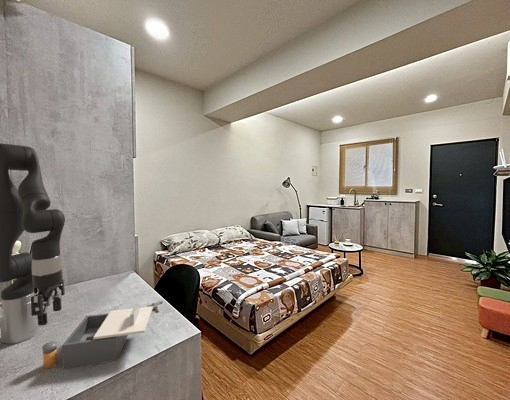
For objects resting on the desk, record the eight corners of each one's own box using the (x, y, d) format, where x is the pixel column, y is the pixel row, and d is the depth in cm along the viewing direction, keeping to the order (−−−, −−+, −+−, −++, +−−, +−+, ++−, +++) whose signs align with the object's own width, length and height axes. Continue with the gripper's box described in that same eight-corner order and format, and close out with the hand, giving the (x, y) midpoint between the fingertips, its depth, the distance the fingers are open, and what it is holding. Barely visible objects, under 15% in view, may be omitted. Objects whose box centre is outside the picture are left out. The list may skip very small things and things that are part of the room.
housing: (63, 368, 79) (61, 345, 78) (87, 334, 96) (86, 315, 96) (116, 360, 83) (115, 338, 82) (130, 329, 100) (129, 310, 100)
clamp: (133, 318, 106) (129, 308, 113) (134, 322, 106) (129, 312, 114) (168, 307, 115) (162, 299, 123) (168, 311, 115) (162, 303, 123)
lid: (93, 339, 81) (92, 325, 81) (110, 312, 97) (110, 301, 97) (144, 332, 85) (144, 319, 84) (152, 308, 101) (152, 297, 101)
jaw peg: (41, 369, 79) (39, 349, 78) (47, 361, 82) (46, 342, 82) (53, 367, 79) (52, 347, 79) (60, 359, 83) (58, 340, 82)
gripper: (46, 264, 85) (49, 308, 86) (18, 279, 71) (22, 331, 72) (71, 262, 87) (73, 305, 88) (48, 277, 73) (51, 328, 74)
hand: (50, 317), depth 80 cm, fingers open, 8 cm apart
